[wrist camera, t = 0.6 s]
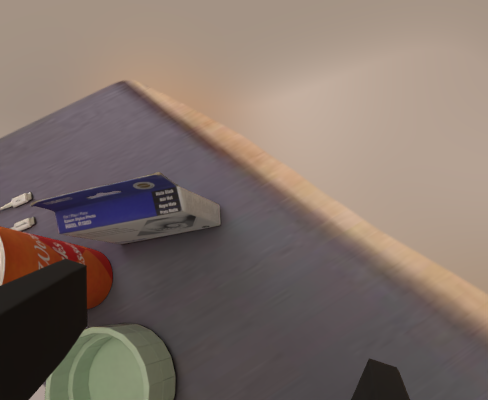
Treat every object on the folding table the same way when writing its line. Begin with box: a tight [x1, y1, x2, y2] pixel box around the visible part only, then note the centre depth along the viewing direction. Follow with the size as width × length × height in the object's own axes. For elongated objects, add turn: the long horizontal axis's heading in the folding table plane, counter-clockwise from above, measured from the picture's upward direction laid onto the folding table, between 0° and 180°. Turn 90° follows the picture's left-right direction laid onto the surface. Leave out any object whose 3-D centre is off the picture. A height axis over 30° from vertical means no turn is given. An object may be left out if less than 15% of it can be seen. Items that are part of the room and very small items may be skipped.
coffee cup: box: [0, 227, 113, 309], centre depth 35 cm, size 8×8×15 cm
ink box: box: [30, 172, 221, 244], centre depth 35 cm, size 12×2×12 cm, turn 95°
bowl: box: [45, 323, 176, 400], centre depth 36 cm, size 10×10×5 cm
